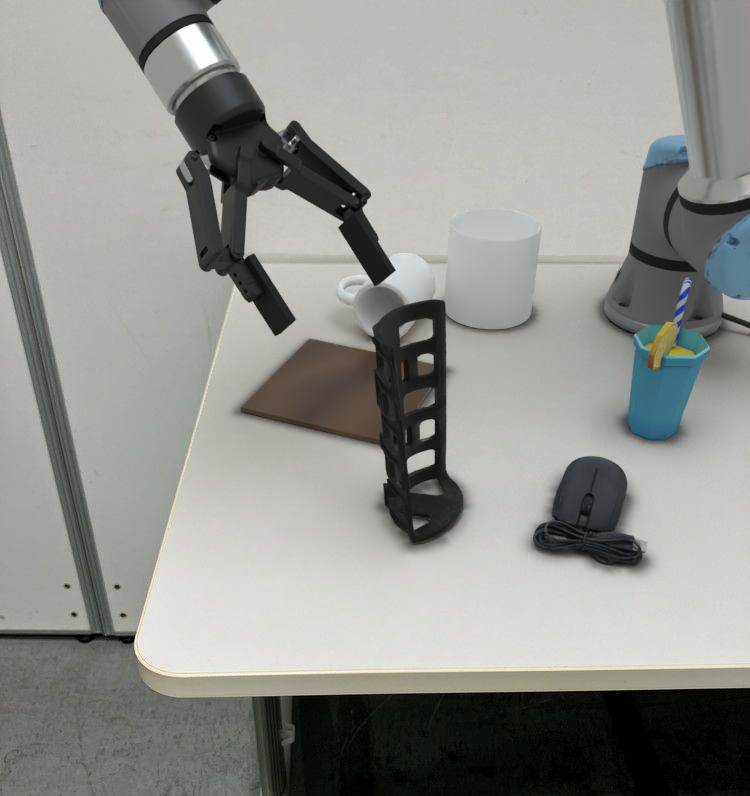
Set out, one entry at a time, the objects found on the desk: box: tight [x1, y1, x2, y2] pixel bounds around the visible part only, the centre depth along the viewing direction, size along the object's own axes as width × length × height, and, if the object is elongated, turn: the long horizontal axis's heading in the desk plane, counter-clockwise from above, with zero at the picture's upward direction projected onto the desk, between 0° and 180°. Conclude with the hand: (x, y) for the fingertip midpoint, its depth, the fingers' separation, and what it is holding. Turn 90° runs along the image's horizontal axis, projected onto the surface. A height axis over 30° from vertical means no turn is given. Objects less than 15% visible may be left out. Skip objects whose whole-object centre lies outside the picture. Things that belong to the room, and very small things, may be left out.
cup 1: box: [443, 207, 543, 331], centre depth 121 cm, size 12×12×12 cm
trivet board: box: [240, 338, 434, 445], centre depth 107 cm, size 18×18×1 cm
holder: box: [370, 298, 464, 545], centre depth 83 cm, size 11×8×20 cm
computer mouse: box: [532, 455, 648, 566], centre depth 88 cm, size 10×15×4 cm
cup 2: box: [626, 277, 711, 441], centre depth 98 cm, size 14×8×15 cm, turn 158°
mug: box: [335, 252, 437, 338], centre depth 119 cm, size 12×10×8 cm
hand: (338, 302), depth 83 cm, fingers open, 13 cm apart
